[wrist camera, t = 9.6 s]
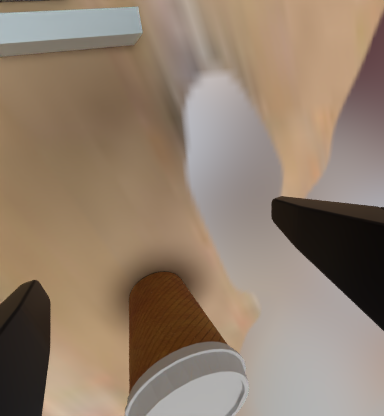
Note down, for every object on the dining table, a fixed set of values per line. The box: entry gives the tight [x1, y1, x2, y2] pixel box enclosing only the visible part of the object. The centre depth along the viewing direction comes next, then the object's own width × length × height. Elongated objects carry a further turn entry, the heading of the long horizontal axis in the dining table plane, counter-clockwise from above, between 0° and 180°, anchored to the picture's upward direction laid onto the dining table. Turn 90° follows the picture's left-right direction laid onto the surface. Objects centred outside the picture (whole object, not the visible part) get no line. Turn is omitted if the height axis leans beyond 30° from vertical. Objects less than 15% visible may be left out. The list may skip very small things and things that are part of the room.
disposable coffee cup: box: [125, 272, 249, 416], centre depth 21 cm, size 10×10×12 cm
